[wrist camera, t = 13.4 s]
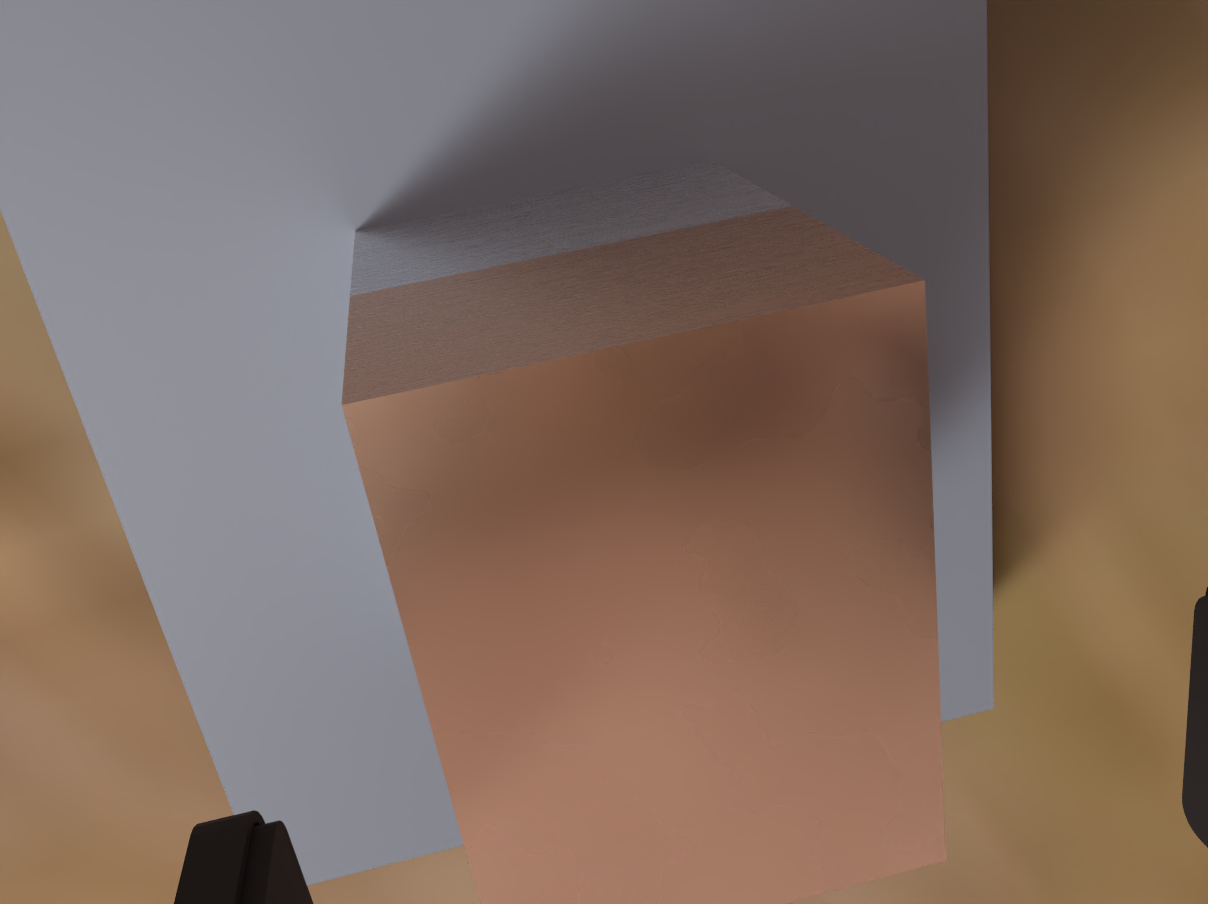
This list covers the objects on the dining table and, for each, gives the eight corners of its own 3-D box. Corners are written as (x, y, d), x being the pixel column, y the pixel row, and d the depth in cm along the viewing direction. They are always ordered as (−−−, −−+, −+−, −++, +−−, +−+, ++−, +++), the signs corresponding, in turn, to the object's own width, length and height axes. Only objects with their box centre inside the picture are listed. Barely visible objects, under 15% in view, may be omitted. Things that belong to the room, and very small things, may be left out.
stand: (932, 634, 27) (993, 708, 25) (276, 798, 26) (265, 896, 23) (900, -206, 20) (984, -234, 17) (-31, -53, 18) (-103, -58, 15)
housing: (711, 160, 19) (925, 280, 11) (758, 568, 22) (946, 861, 15) (355, 230, 18) (341, 405, 11) (458, 640, 21) (502, 982, 14)
